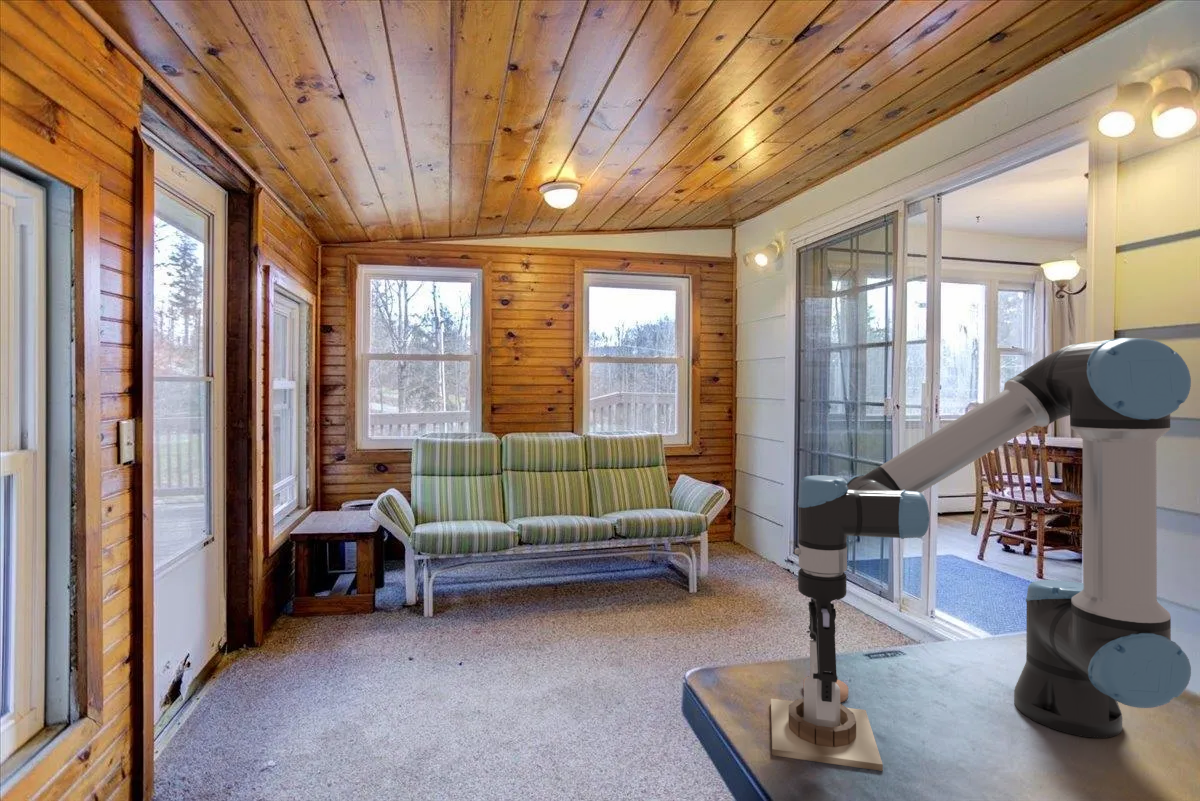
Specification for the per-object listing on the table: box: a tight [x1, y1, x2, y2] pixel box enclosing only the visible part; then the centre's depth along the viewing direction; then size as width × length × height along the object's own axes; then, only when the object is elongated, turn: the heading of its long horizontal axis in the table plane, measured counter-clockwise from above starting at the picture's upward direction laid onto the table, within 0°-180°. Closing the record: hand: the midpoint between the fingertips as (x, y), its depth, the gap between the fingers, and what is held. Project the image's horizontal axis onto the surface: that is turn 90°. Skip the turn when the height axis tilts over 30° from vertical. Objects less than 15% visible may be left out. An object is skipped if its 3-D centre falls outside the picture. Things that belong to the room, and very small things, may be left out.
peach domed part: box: [802, 675, 849, 704], centre depth 116 cm, size 8×8×2 cm
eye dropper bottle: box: [803, 662, 841, 727], centre depth 102 cm, size 4×6×12 cm
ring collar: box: [770, 697, 884, 772], centre depth 102 cm, size 16×16×4 cm
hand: (821, 697), depth 102 cm, fingers open, 13 cm apart
